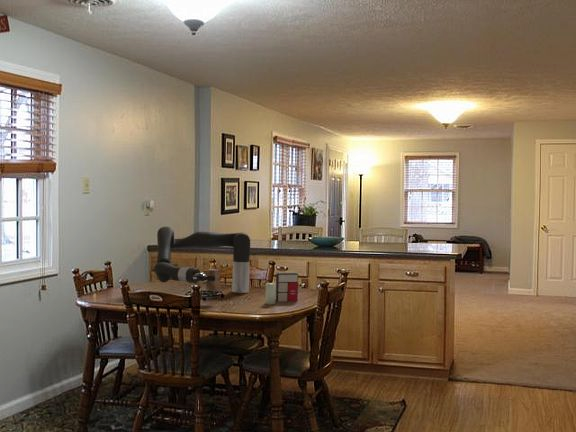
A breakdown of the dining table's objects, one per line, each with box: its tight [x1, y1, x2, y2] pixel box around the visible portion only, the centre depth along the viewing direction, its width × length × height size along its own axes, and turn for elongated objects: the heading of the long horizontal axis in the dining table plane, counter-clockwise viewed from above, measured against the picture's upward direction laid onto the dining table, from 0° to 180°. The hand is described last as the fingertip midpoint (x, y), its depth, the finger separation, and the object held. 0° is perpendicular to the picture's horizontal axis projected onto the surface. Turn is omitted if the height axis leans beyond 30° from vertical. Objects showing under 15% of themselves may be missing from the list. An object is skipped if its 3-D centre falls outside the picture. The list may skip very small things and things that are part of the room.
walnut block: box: [205, 268, 222, 292], centre depth 325 cm, size 5×5×10 cm
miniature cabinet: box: [275, 272, 299, 302], centre depth 341 cm, size 11×4×15 cm, turn 105°
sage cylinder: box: [264, 282, 276, 306], centre depth 330 cm, size 5×5×10 cm
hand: (217, 278), depth 324 cm, fingers closed on walnut block, 5 cm apart
